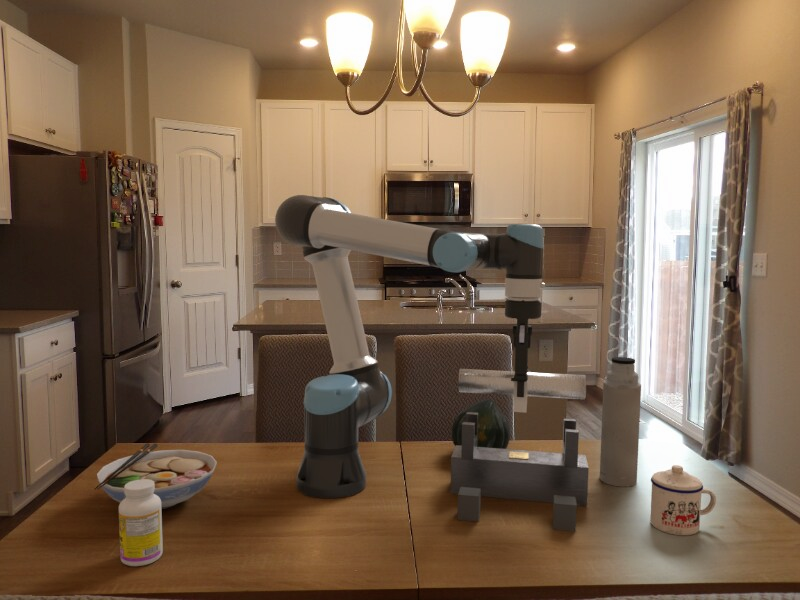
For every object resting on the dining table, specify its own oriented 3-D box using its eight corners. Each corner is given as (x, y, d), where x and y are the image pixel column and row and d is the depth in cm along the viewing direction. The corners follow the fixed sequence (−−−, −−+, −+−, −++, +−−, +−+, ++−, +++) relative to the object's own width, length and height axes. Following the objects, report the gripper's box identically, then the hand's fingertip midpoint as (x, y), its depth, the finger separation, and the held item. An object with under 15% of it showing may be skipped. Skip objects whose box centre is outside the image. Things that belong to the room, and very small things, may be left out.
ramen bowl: (191, 532, 117) (190, 489, 116) (69, 528, 118) (68, 485, 118) (234, 481, 142) (233, 445, 141) (133, 478, 143) (132, 442, 143)
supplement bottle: (128, 549, 111) (125, 476, 110) (167, 548, 111) (165, 476, 110) (114, 568, 104) (111, 492, 103) (156, 567, 105) (154, 491, 104)
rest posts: (457, 519, 124) (458, 494, 123) (460, 511, 128) (460, 486, 127) (575, 531, 119) (576, 505, 119) (574, 522, 123) (575, 497, 123)
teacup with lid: (659, 536, 118) (662, 474, 117) (641, 515, 127) (644, 458, 126) (725, 537, 118) (729, 475, 117) (702, 516, 127) (706, 458, 126)
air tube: (458, 395, 136) (458, 371, 135) (460, 389, 141) (461, 366, 140) (585, 402, 131) (586, 378, 130) (583, 396, 136) (584, 372, 135)
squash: (433, 436, 158) (473, 396, 154) (451, 423, 172) (489, 385, 167) (473, 481, 155) (516, 440, 150) (489, 464, 168) (529, 426, 164)
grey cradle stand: (449, 495, 136) (451, 423, 134) (455, 478, 145) (456, 411, 144) (587, 507, 130) (590, 433, 129) (583, 489, 140) (586, 419, 138)
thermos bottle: (596, 473, 150) (601, 354, 147) (631, 474, 149) (637, 355, 146) (603, 485, 142) (608, 360, 139) (640, 487, 141) (646, 361, 139)
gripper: (542, 303, 124) (538, 421, 126) (541, 295, 142) (538, 399, 144) (502, 302, 126) (500, 418, 128) (507, 294, 143) (504, 397, 146)
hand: (520, 407), depth 136 cm, fingers closed on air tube, 5 cm apart
